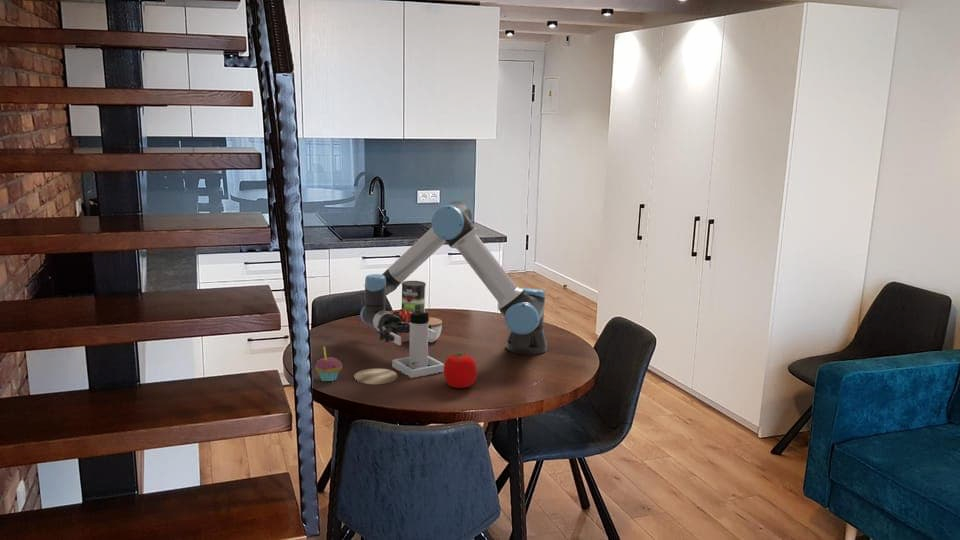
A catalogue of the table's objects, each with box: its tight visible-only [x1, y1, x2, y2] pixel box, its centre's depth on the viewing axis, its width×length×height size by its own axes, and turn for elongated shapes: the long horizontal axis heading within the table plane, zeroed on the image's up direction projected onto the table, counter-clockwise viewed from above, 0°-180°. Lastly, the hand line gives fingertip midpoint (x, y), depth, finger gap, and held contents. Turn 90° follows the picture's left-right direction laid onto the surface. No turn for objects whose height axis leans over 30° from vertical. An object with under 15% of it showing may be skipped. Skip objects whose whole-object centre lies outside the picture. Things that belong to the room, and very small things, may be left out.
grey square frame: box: [391, 355, 445, 379], centre depth 250 cm, size 13×13×2 cm
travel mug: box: [408, 312, 430, 369], centre depth 249 cm, size 6×7×20 cm
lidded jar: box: [428, 316, 443, 343], centre depth 283 cm, size 11×11×9 cm
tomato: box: [443, 352, 478, 389], centre depth 235 cm, size 10×11×11 cm
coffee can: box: [401, 280, 427, 314], centre depth 319 cm, size 10×10×14 cm
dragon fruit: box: [392, 308, 412, 329], centre depth 299 cm, size 8×8×12 cm
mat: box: [353, 367, 398, 385], centre depth 242 cm, size 14×14×1 cm
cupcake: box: [314, 344, 343, 382], centre depth 237 cm, size 9×8×12 cm
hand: (417, 338), depth 248 cm, fingers open, 13 cm apart
